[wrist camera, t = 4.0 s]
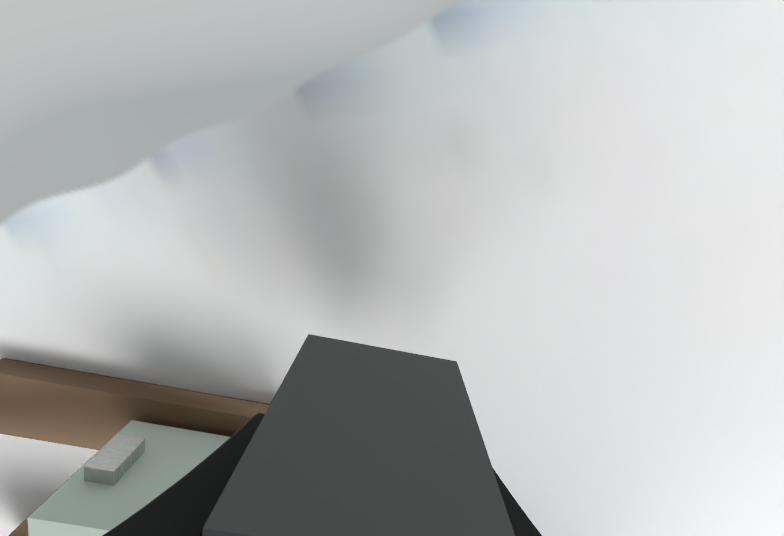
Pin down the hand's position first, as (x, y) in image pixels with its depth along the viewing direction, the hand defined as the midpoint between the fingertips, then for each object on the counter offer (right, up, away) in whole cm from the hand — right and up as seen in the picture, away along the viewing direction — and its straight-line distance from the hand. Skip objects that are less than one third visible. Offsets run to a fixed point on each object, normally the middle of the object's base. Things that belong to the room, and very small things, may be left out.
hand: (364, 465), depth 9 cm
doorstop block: (0, +1, +2) cm, 2 cm away
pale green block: (-7, -2, +6) cm, 10 cm away
